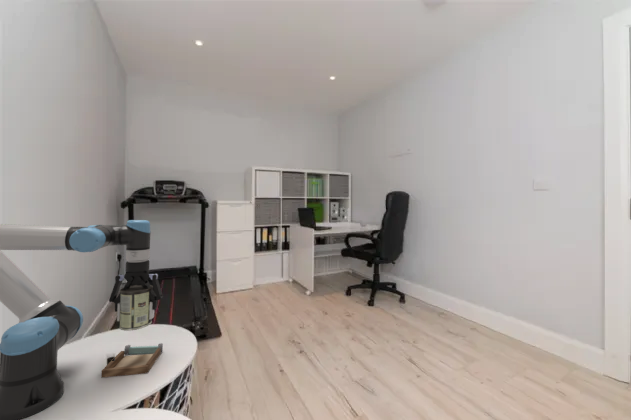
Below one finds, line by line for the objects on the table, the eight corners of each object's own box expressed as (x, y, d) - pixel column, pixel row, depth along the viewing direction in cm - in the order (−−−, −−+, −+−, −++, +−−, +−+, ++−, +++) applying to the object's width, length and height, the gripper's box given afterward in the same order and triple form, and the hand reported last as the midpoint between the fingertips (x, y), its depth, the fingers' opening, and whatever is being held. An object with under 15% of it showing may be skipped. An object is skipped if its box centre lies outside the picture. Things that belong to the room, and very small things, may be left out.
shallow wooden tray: (101, 377, 90) (101, 370, 90) (120, 357, 103) (121, 350, 103) (147, 373, 93) (147, 366, 93) (160, 353, 106) (161, 347, 106)
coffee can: (135, 318, 105) (136, 283, 105) (158, 320, 103) (159, 285, 103) (111, 329, 95) (112, 290, 95) (136, 332, 93) (137, 292, 93)
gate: (123, 354, 104) (124, 346, 104) (126, 352, 106) (126, 344, 106) (161, 353, 106) (161, 345, 106) (163, 350, 108) (163, 343, 108)
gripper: (97, 262, 93) (95, 325, 93) (166, 261, 98) (165, 321, 98) (109, 259, 100) (107, 316, 100) (173, 258, 105) (171, 313, 105)
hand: (136, 318), depth 99 cm, fingers closed on coffee can, 10 cm apart
